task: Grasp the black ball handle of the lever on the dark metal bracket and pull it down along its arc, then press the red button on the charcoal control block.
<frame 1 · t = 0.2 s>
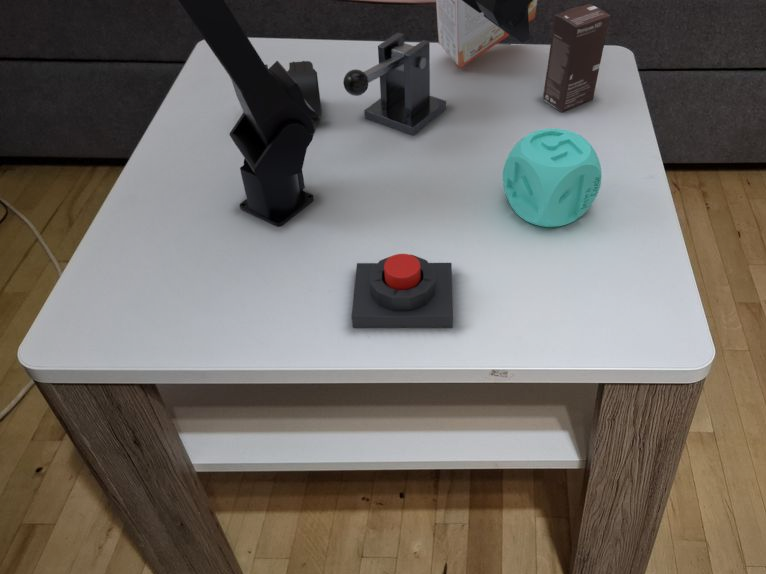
hand: (503, 24, 88), 15 cm above the table, tool tilted 30°, fingers open, 9 cm apart
lever: (380, 69, 93), point 9 cm above the table, hinge at 5.8°
decorative dice: (547, 208, 88), on the table
cracker box: (485, 31, 111), point 3 cm above the table
control block: (403, 300, 78), on the table
box: (568, 102, 104), on the table
bracket: (405, 113, 102), on the table
button: (402, 271, 75), point 4 cm above the table, slide at 0.1 cm
dark grey block: (285, 120, 102), on the table
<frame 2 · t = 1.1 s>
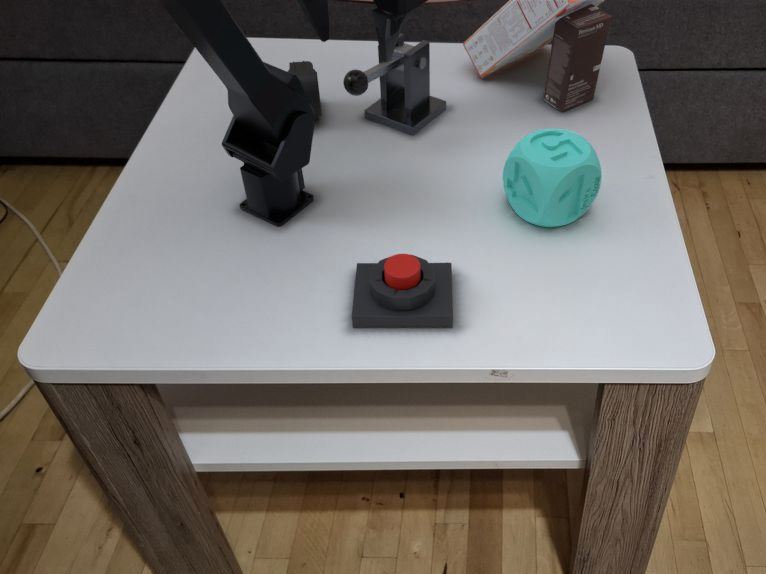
hand: (355, 50, 88), 13 cm above the table, tool pointing down, fingers open, 9 cm apart
cracker box: (501, 45, 111), point 2 cm above the table, touching box
box: (568, 101, 104), on the table, touching cracker box
everything else where it was.
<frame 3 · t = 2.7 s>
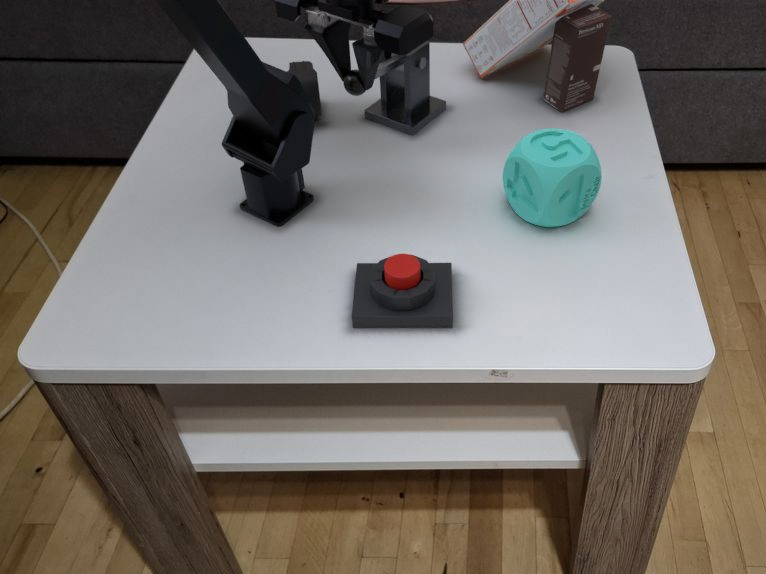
hand: (357, 84, 91), 9 cm above the table, tool pointing down, fingers closed on lever, 3 cm apart
lever: (380, 69, 93), point 9 cm above the table, hinge at 5.8°, touching gripper
everything else where it was.
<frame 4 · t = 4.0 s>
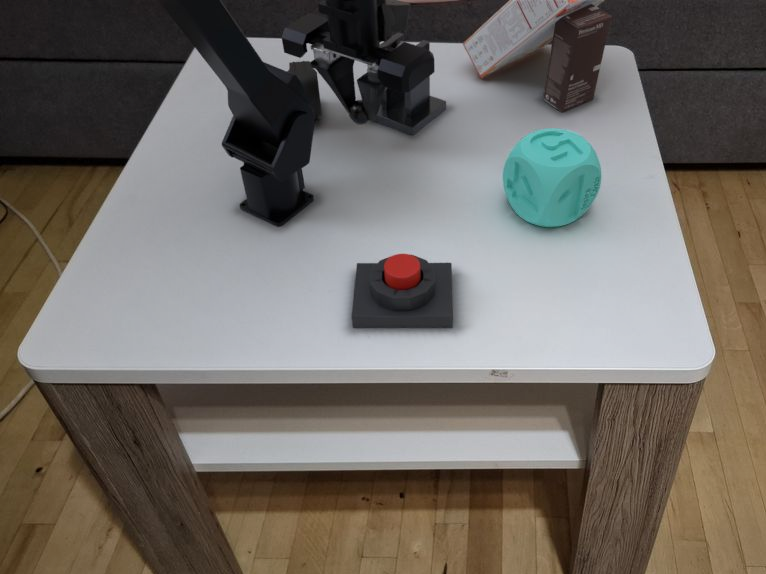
hand: (362, 115, 94), 4 cm above the table, tool pointing down, fingers closed on lever, 3 cm apart
lever: (382, 84, 95), point 6 cm above the table, hinge at -18.3°, touching gripper
everything else where it was.
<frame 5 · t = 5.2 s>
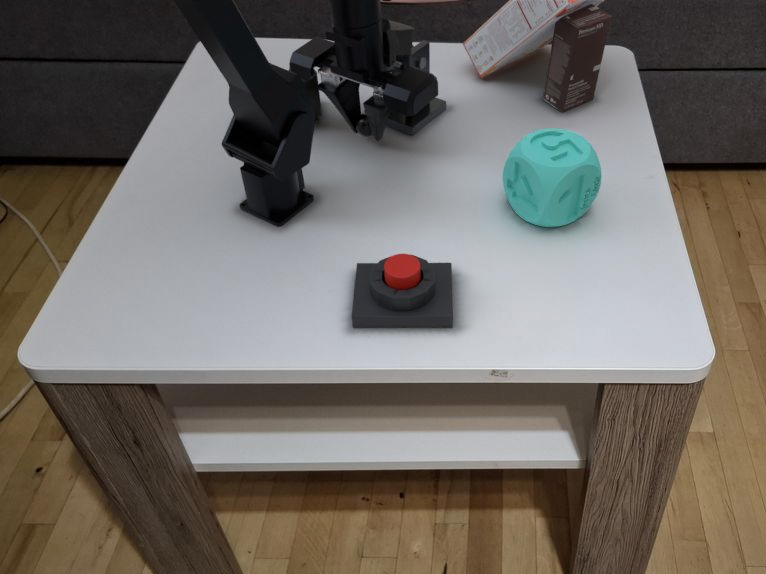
hand: (368, 135, 97), 1 cm above the table, tool pointing down, fingers closed on lever, 3 cm apart
lever: (385, 91, 96), point 5 cm above the table, hinge at -33.1°, touching gripper
everything else where it was.
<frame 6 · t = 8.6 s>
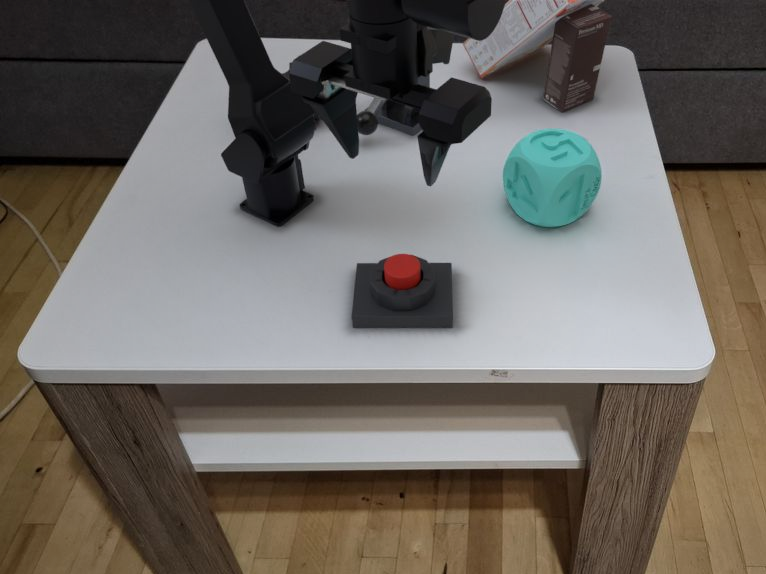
hand: (391, 169, 74), 11 cm above the table, tool pointing down, fingers open, 9 cm apart
lever: (385, 90, 96), point 5 cm above the table, hinge at -30.6°
everything else where it was.
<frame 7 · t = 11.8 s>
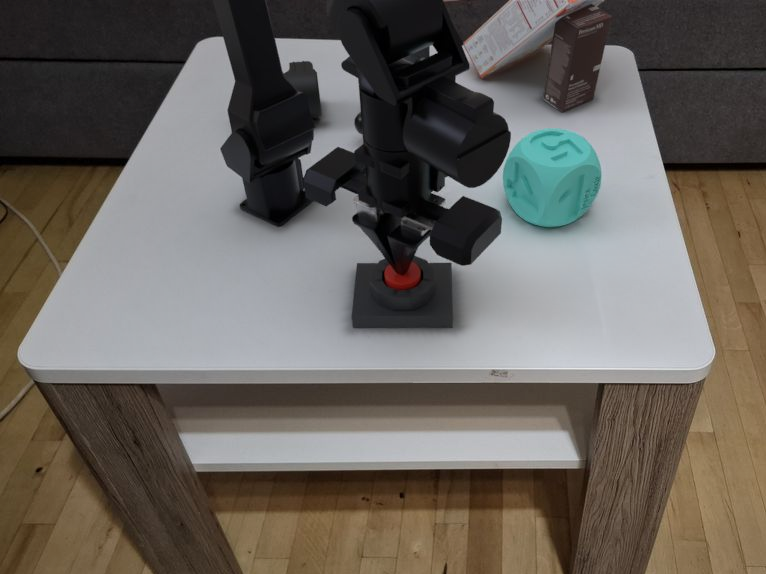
hand: (402, 271, 75), 4 cm above the table, tool pointing down, fingers closed, pressing on button
button: (402, 278, 76), point 3 cm above the table, slide at -0.8 cm, touching gripper
everything else where it was.
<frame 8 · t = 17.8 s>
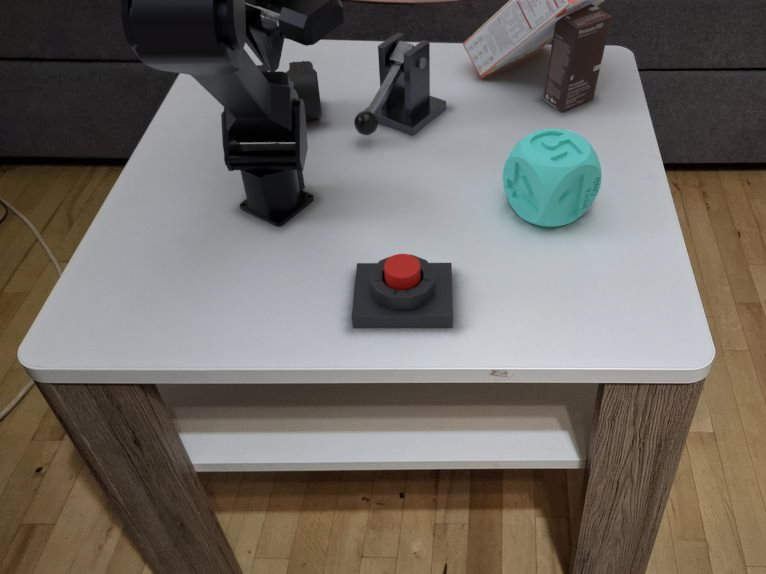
hand: (273, 69, 87), 12 cm above the table, tool pointing down, fingers closed
button: (402, 271, 75), point 4 cm above the table, slide at 0.1 cm
everything else where it was.
at the end: lever at -31° (first picture: +6°); button pushed in 1.1 cm at the most during the clip, back to where it started at the end; button slide at 0.1 cm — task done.
